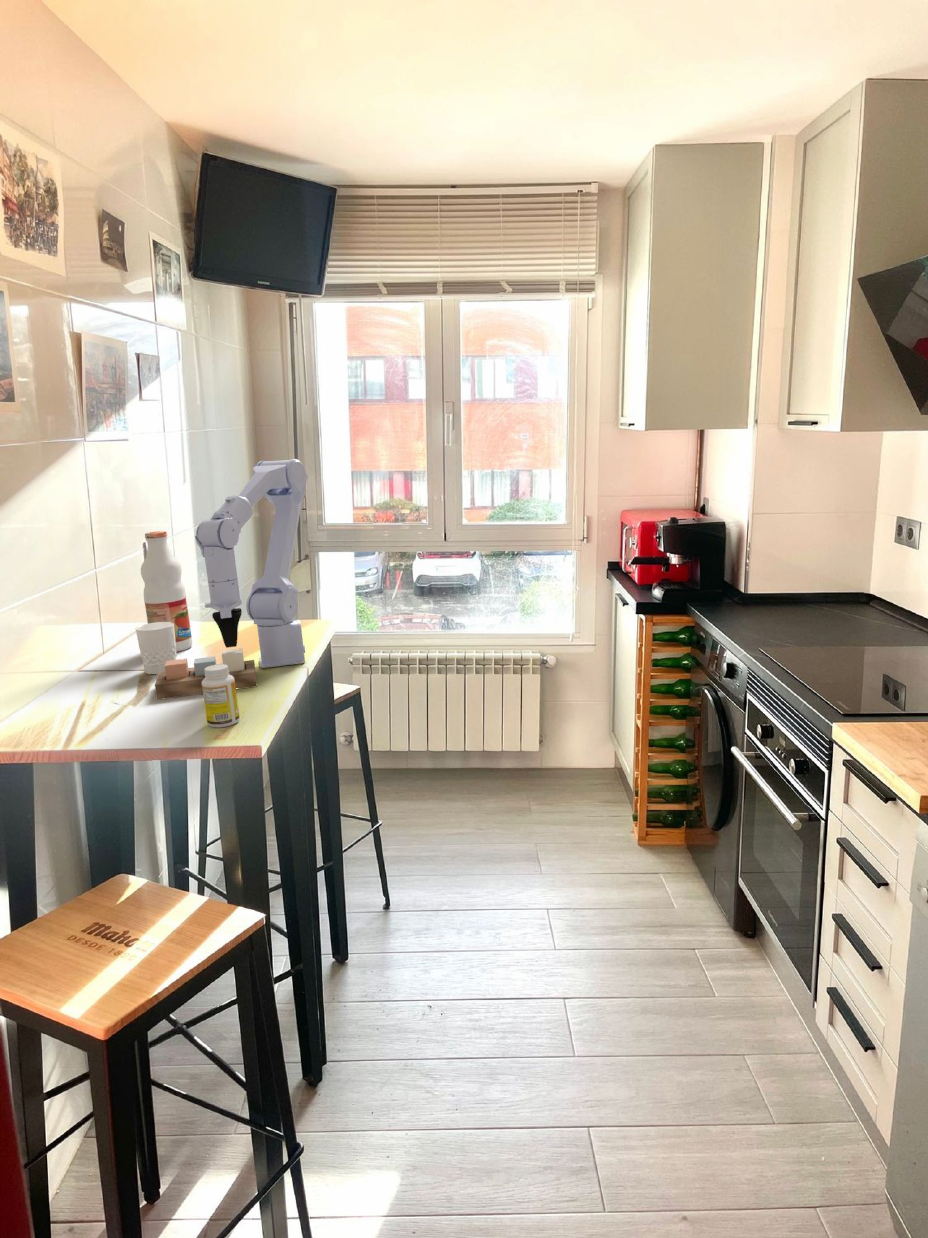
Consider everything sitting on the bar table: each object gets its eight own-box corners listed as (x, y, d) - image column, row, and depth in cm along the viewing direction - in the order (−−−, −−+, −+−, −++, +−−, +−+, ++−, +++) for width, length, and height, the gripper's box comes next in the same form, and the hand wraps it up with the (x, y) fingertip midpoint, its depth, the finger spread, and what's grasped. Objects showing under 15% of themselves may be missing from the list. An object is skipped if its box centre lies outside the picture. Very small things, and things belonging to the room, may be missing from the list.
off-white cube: (244, 666, 187) (242, 648, 186) (244, 671, 183) (242, 652, 182) (224, 669, 186) (222, 650, 185) (224, 674, 182) (221, 655, 182)
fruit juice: (154, 646, 222) (136, 532, 216) (194, 642, 224) (178, 528, 218) (150, 656, 213) (131, 536, 207) (191, 651, 215) (175, 532, 209)
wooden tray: (255, 673, 191) (254, 659, 190) (256, 686, 181) (254, 671, 181) (161, 685, 187) (159, 671, 186) (156, 699, 177) (154, 684, 177)
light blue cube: (217, 675, 186) (215, 656, 185) (217, 680, 182) (214, 661, 181) (197, 677, 185) (194, 658, 184) (196, 683, 182) (193, 663, 181)
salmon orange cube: (189, 677, 185) (186, 658, 184) (188, 682, 181) (185, 663, 180) (169, 680, 184) (166, 660, 183) (167, 685, 180) (164, 665, 179)
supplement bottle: (227, 716, 164) (220, 661, 162) (246, 721, 160) (239, 665, 158) (200, 725, 160) (193, 669, 158) (219, 730, 156) (211, 673, 154)
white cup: (168, 675, 194) (161, 630, 192) (135, 676, 196) (128, 630, 194) (186, 665, 202) (180, 621, 200) (154, 665, 204) (147, 622, 201)
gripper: (203, 576, 187) (211, 640, 190) (200, 588, 173) (209, 657, 176) (238, 572, 188) (246, 636, 191) (238, 584, 174) (247, 652, 177)
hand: (231, 646), depth 184 cm, fingers closed
